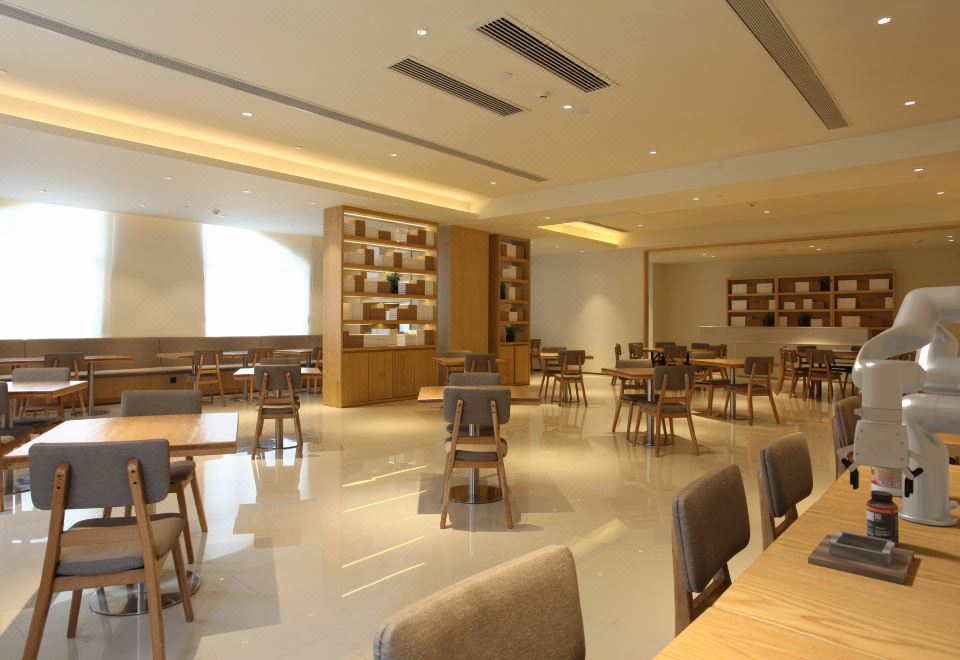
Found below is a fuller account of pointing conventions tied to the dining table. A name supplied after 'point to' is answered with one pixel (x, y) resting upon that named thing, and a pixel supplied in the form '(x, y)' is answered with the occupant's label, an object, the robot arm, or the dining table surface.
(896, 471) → the fruit juice
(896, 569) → the bottle holder
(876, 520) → the supplement bottle
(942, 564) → the dining table surface
